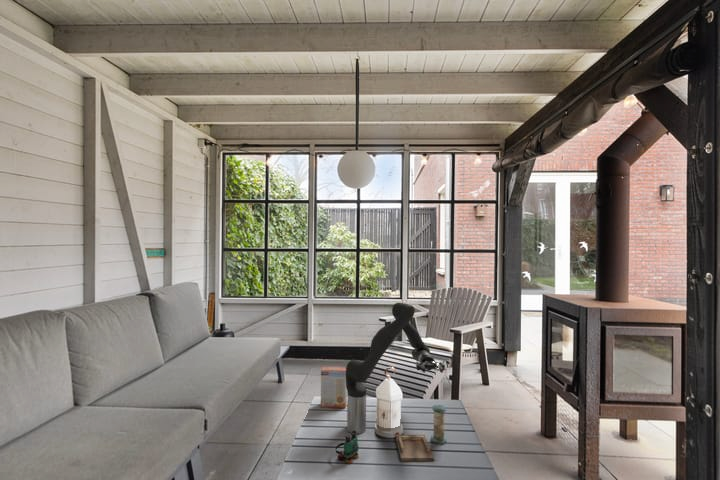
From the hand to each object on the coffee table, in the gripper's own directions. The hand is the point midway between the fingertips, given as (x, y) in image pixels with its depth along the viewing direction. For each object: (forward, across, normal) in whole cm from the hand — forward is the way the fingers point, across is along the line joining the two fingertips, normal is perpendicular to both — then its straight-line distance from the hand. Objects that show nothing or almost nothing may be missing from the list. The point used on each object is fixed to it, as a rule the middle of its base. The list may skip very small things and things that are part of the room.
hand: (433, 370), depth 196 cm
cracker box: (-26, -50, +28) cm, 63 cm away
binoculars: (+27, -43, +28) cm, 58 cm away
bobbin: (+13, 0, +28) cm, 31 cm away
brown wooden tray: (+20, -13, +28) cm, 37 cm away
